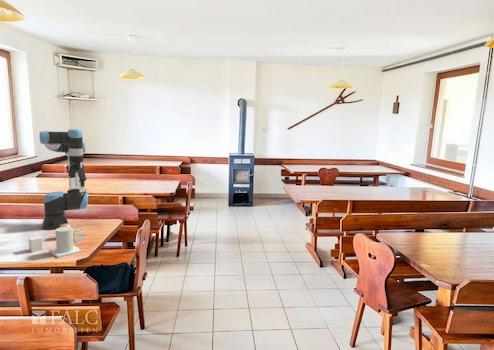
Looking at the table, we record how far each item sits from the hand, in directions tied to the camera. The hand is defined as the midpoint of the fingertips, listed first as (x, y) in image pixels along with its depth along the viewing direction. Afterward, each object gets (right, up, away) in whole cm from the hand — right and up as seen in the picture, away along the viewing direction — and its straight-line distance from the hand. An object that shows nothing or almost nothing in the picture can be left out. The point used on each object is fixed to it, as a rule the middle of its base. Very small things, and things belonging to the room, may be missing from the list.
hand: (77, 190), depth 194 cm
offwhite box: (-13, -32, -18) cm, 39 cm away
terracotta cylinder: (-9, -29, +3) cm, 31 cm away
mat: (+4, -33, -19) cm, 39 cm away
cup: (+4, -32, -20) cm, 38 cm away
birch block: (+1, -31, -1) cm, 31 cm away
